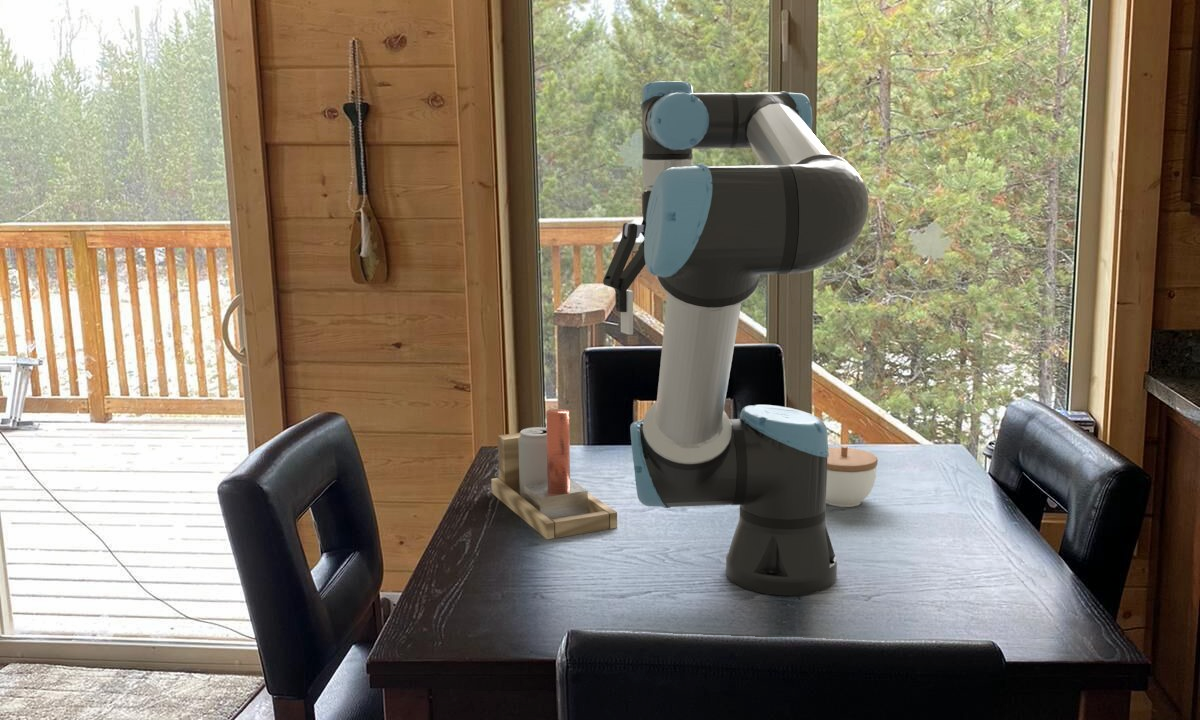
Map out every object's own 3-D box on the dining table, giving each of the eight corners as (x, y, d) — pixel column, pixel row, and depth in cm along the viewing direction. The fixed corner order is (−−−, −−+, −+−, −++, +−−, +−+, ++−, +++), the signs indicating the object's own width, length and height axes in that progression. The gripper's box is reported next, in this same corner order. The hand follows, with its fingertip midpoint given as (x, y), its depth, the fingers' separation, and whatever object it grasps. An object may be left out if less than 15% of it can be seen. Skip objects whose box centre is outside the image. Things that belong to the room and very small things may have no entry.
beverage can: (556, 506, 184) (555, 435, 182) (518, 506, 184) (516, 435, 182) (559, 493, 190) (557, 425, 188) (521, 493, 190) (519, 425, 188)
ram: (587, 514, 179) (586, 411, 176) (540, 522, 176) (538, 417, 172) (570, 501, 185) (569, 402, 182) (524, 509, 182) (522, 407, 179)
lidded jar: (870, 492, 190) (873, 438, 188) (880, 512, 179) (882, 456, 178) (807, 490, 191) (808, 437, 189) (812, 511, 180) (814, 455, 179)
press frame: (617, 527, 174) (616, 465, 172) (546, 539, 169) (545, 476, 167) (555, 483, 196) (554, 428, 194) (491, 492, 191) (490, 436, 189)
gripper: (726, 185, 174) (724, 319, 178) (580, 190, 164) (582, 332, 168) (752, 187, 167) (749, 326, 172) (602, 192, 157) (603, 340, 161)
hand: (666, 329), depth 170 cm, fingers open, 13 cm apart
